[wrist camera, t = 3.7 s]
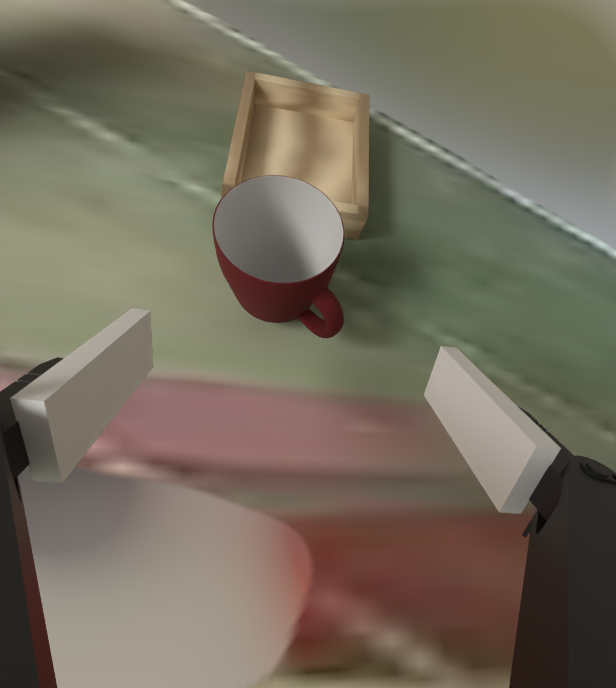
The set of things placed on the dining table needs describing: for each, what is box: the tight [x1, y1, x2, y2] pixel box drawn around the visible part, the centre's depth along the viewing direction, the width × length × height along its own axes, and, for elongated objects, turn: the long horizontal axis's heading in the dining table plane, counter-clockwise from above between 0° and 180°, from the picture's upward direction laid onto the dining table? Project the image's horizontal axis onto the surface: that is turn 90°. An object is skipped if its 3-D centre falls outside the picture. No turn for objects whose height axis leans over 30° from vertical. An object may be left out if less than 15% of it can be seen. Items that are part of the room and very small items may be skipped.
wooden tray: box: [221, 71, 369, 240], centre depth 33 cm, size 13×16×4 cm
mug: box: [213, 175, 344, 338], centre depth 24 cm, size 10×8×10 cm
